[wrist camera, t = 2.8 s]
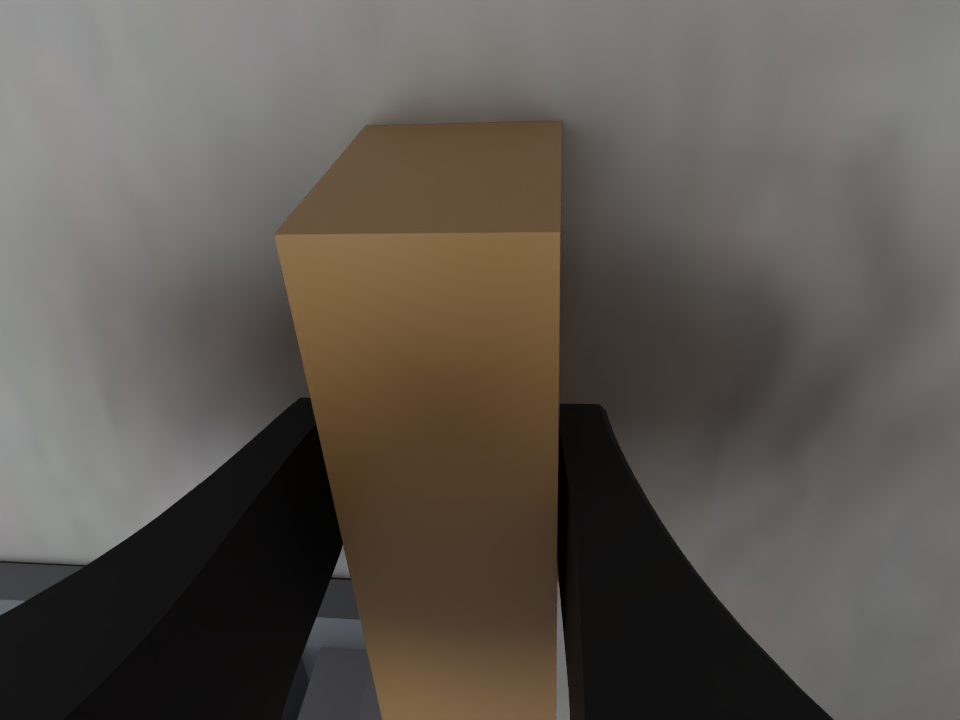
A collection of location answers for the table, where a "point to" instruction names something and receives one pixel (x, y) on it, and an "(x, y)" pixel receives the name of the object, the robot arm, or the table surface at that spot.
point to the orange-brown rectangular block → (440, 404)
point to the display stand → (324, 663)
